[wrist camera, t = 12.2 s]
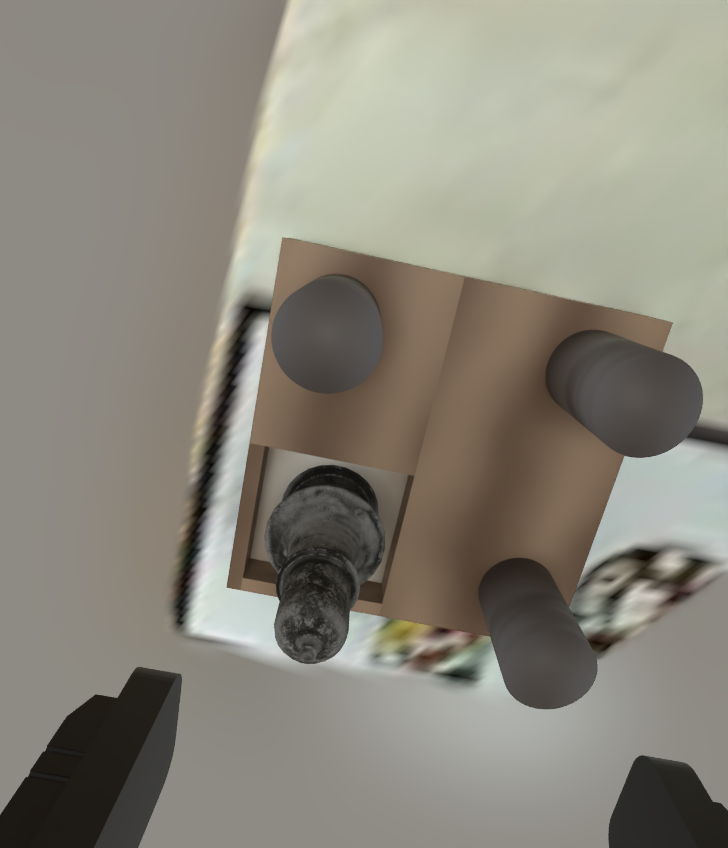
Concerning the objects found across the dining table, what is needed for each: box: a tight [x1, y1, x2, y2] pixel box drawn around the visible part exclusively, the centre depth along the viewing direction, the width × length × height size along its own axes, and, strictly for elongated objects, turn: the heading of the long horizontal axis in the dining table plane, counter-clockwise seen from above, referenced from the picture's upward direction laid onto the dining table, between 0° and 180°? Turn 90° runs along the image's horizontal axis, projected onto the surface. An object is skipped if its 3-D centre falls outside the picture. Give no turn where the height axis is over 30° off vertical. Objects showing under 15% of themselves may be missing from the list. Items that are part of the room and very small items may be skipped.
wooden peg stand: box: [227, 237, 703, 709], centre depth 27 cm, size 18×18×9 cm
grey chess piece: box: [264, 465, 385, 664], centre depth 26 cm, size 6×6×12 cm
